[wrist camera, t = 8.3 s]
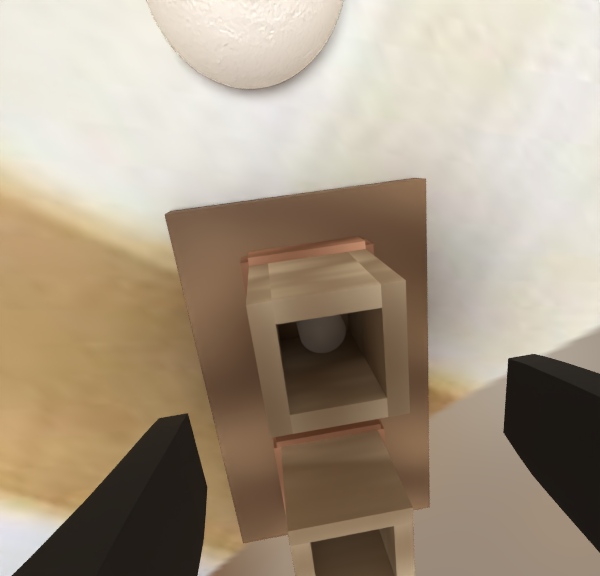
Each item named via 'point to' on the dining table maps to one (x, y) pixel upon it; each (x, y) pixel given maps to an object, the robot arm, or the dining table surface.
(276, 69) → the garlic bulb
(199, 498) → the robot arm
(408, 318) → the pin board
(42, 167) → the dining table surface
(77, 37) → the dining table surface
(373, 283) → the banded sleeve
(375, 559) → the seated sleeve
